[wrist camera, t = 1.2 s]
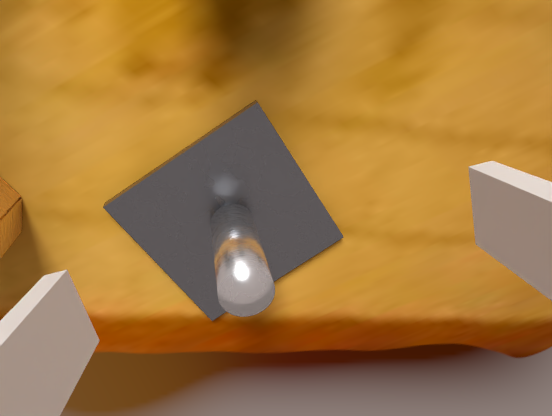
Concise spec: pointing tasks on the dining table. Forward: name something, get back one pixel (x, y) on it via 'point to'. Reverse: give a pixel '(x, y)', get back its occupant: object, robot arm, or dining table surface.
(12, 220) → the ring
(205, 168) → the pipe stub
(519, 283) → the dining table surface
